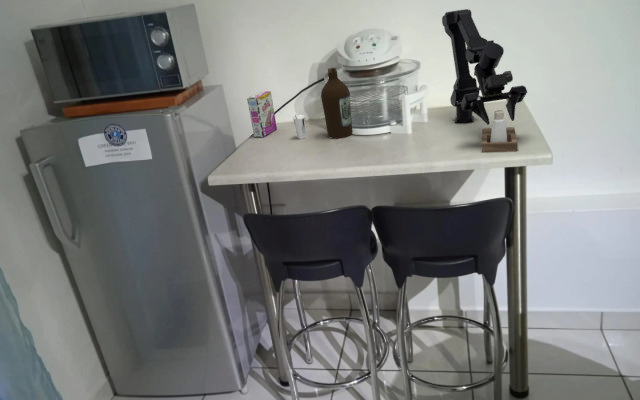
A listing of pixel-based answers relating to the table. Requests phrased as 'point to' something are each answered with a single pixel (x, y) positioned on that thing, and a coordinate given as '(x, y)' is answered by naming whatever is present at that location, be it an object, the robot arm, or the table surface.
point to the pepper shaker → (498, 127)
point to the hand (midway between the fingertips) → (501, 122)
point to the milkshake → (300, 126)
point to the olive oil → (336, 106)
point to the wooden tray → (499, 146)
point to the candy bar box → (262, 114)
